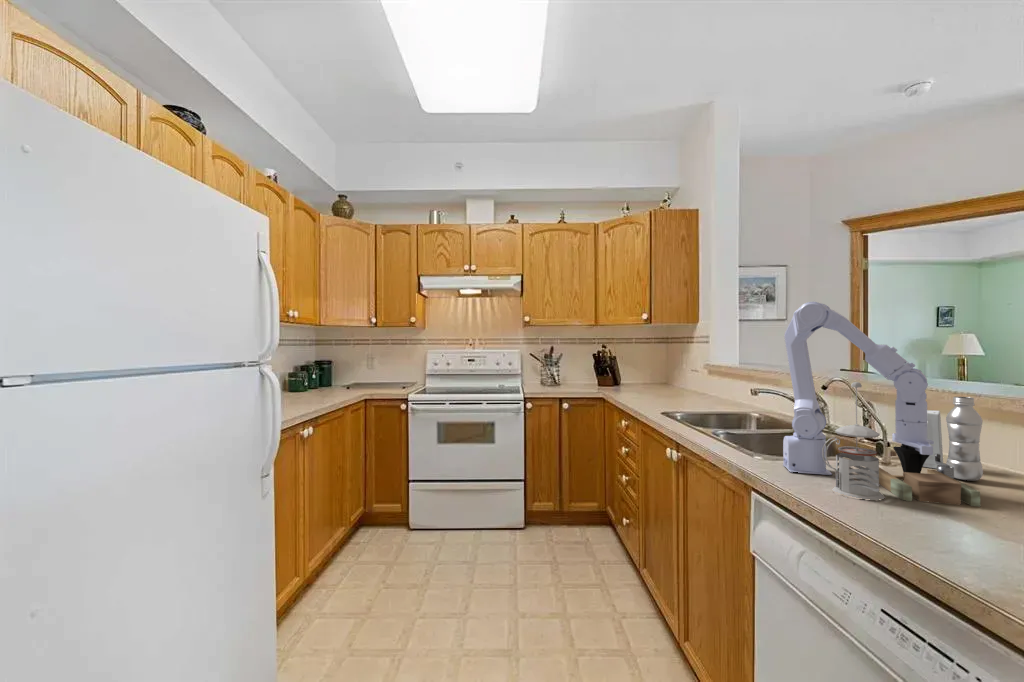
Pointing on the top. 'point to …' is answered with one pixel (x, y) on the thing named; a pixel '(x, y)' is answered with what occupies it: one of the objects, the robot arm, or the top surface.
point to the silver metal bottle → (964, 439)
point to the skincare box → (934, 437)
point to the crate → (933, 487)
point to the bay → (905, 491)
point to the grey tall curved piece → (856, 463)
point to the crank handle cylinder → (944, 467)
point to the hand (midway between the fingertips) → (911, 478)
